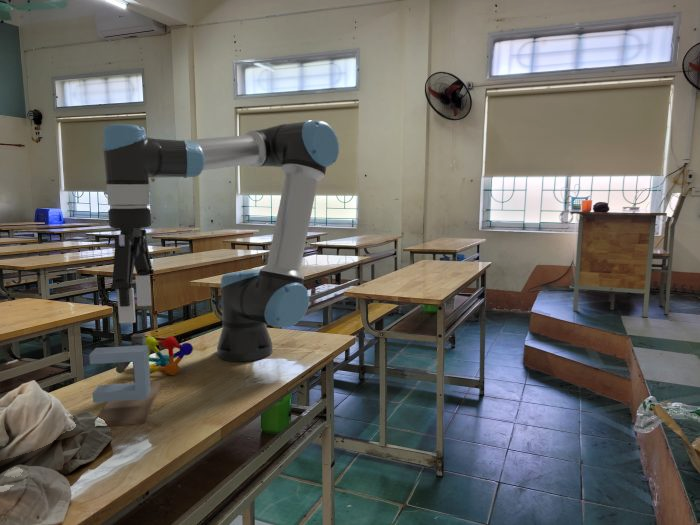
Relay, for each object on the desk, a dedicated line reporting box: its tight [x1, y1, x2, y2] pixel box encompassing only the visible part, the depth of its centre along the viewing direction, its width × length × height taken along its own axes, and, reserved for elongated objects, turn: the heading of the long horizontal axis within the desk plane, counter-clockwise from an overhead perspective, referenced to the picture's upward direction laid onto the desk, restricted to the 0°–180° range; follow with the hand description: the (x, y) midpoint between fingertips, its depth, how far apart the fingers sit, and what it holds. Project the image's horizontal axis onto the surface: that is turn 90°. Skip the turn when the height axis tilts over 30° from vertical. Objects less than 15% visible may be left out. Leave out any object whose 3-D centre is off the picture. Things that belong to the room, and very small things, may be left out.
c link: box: [88, 345, 151, 404], centre depth 99 cm, size 10×4×10 cm, turn 100°
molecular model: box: [145, 336, 194, 376], centre depth 123 cm, size 11×10×15 cm
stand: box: [97, 333, 163, 427], centre depth 104 cm, size 9×19×13 cm, turn 10°
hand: (136, 313), depth 98 cm, fingers open, 13 cm apart
